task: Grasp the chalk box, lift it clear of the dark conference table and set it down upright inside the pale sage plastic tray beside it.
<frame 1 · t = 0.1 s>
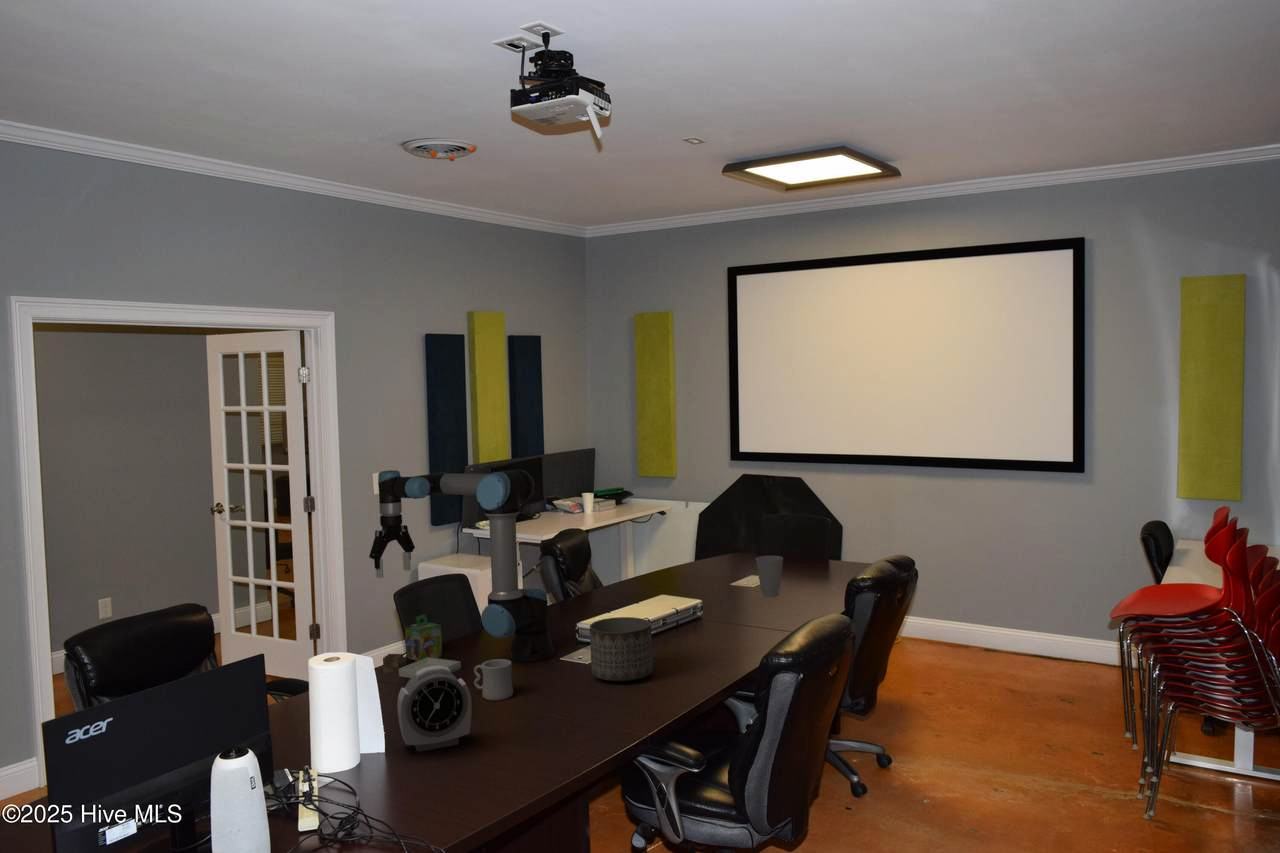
hand: (393, 574, 326), 28 cm above the table, fingers open, 13 cm apart
alarm clock: (436, 745, 238), on the table
cup: (770, 595, 396), on the table
mug: (493, 696, 275), on the table
tray: (430, 672, 301), on the table
planter: (622, 676, 290), on the table
walnut block: (393, 670, 305), on the table
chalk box: (424, 659, 318), on the table
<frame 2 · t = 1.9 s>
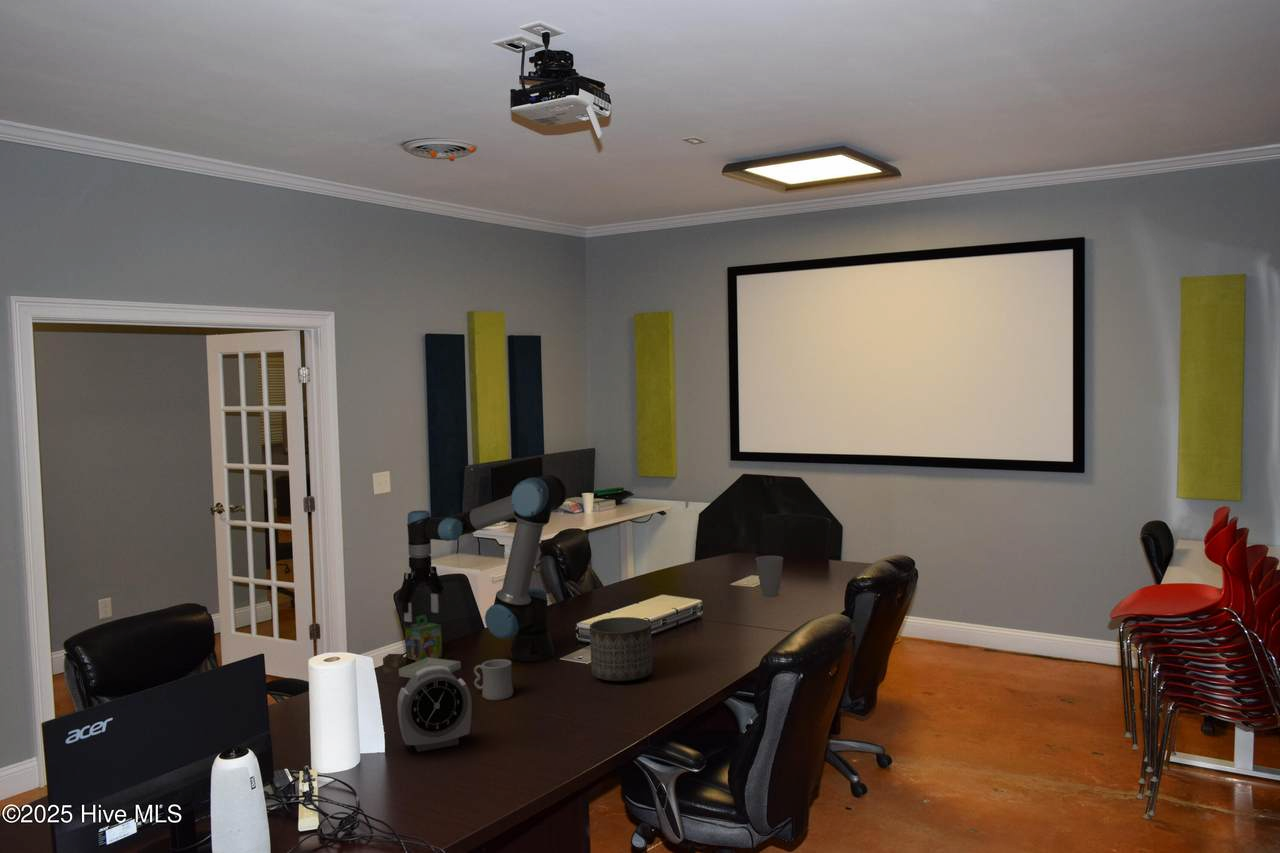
hand: (421, 616, 317), 14 cm above the table, fingers open, 13 cm apart
nothing on the table moved.
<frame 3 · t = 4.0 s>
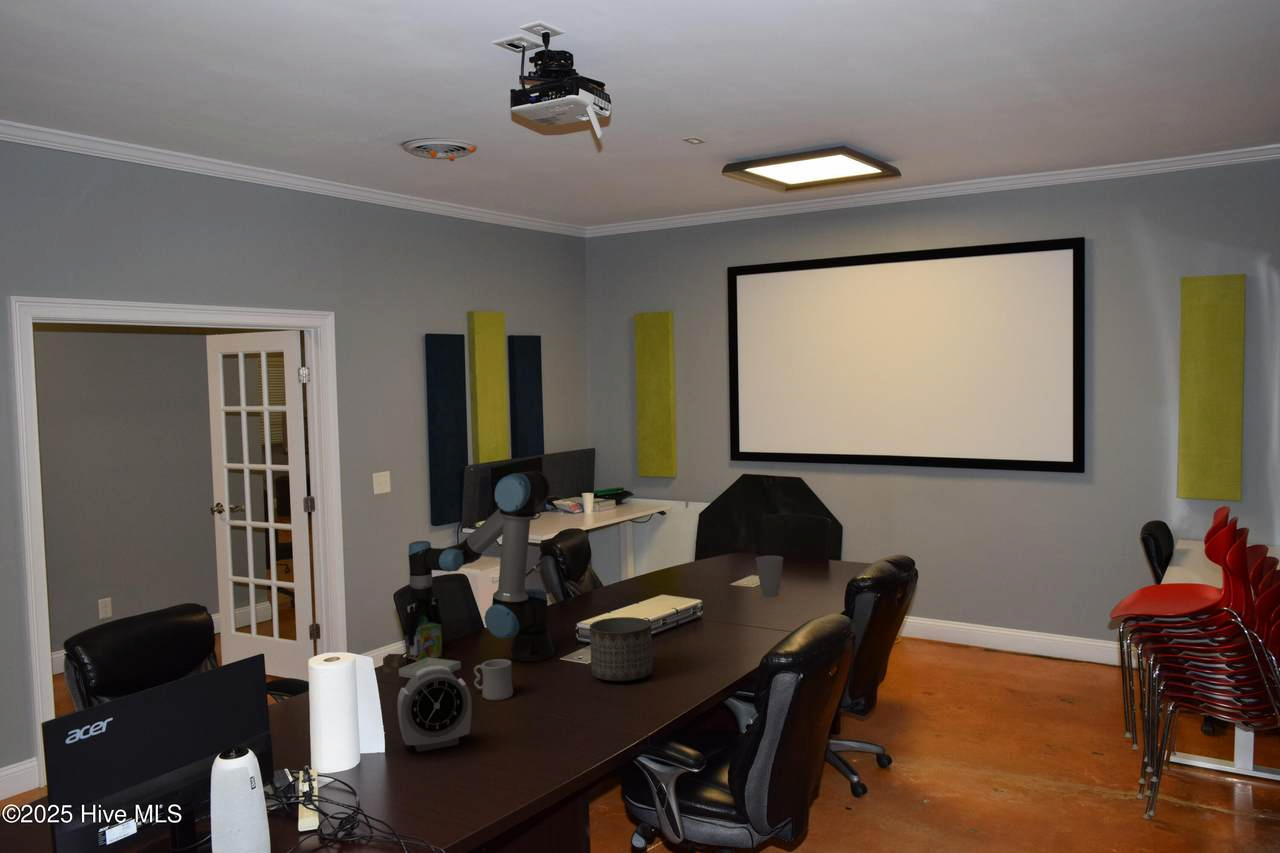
hand: (424, 650, 318), 3 cm above the table, fingers closed on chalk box, 9 cm apart
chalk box: (424, 658, 318), on the table, touching gripper
everything else where it was.
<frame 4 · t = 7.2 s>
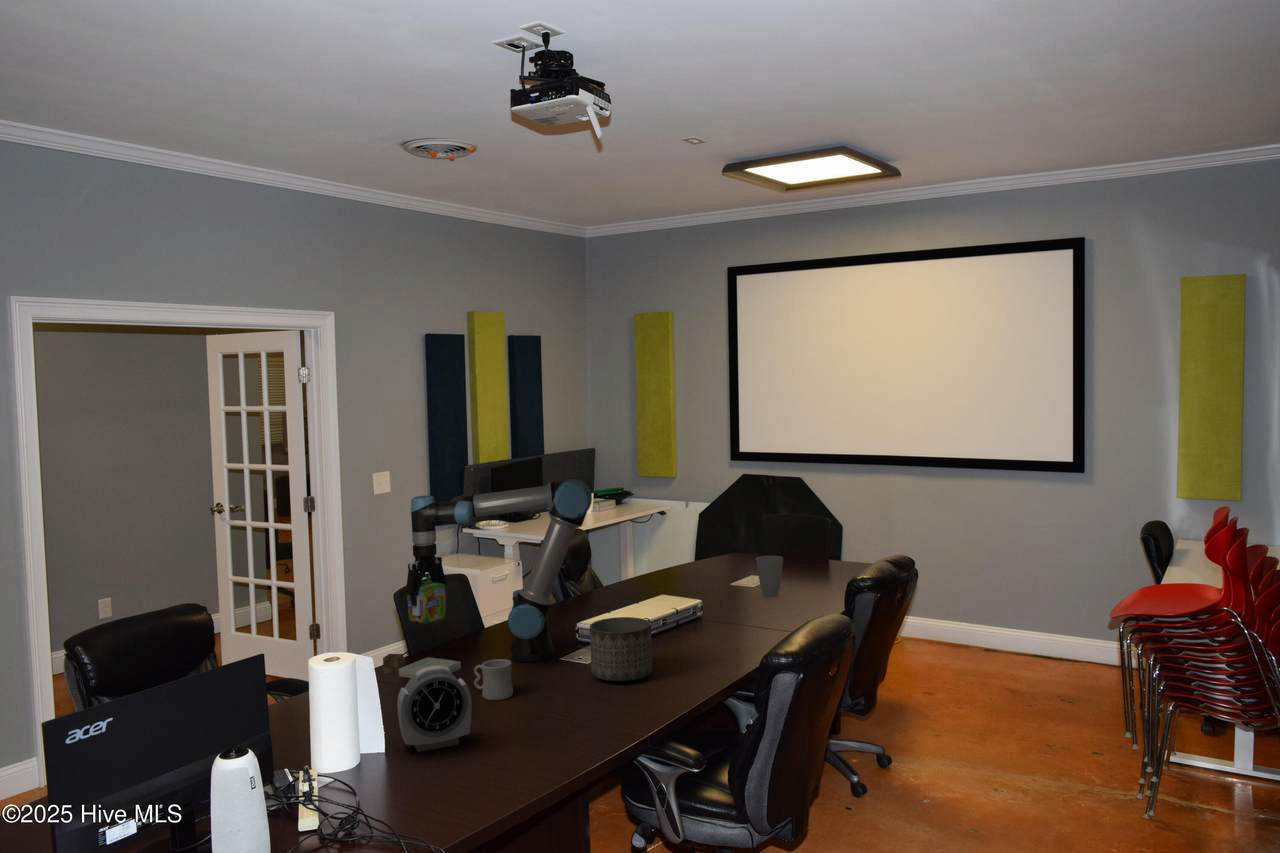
hand: (427, 611, 300), 20 cm above the table, fingers closed on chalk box, 9 cm apart
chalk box: (427, 620, 300), point 17 cm above the table, touching gripper
everything else where it was.
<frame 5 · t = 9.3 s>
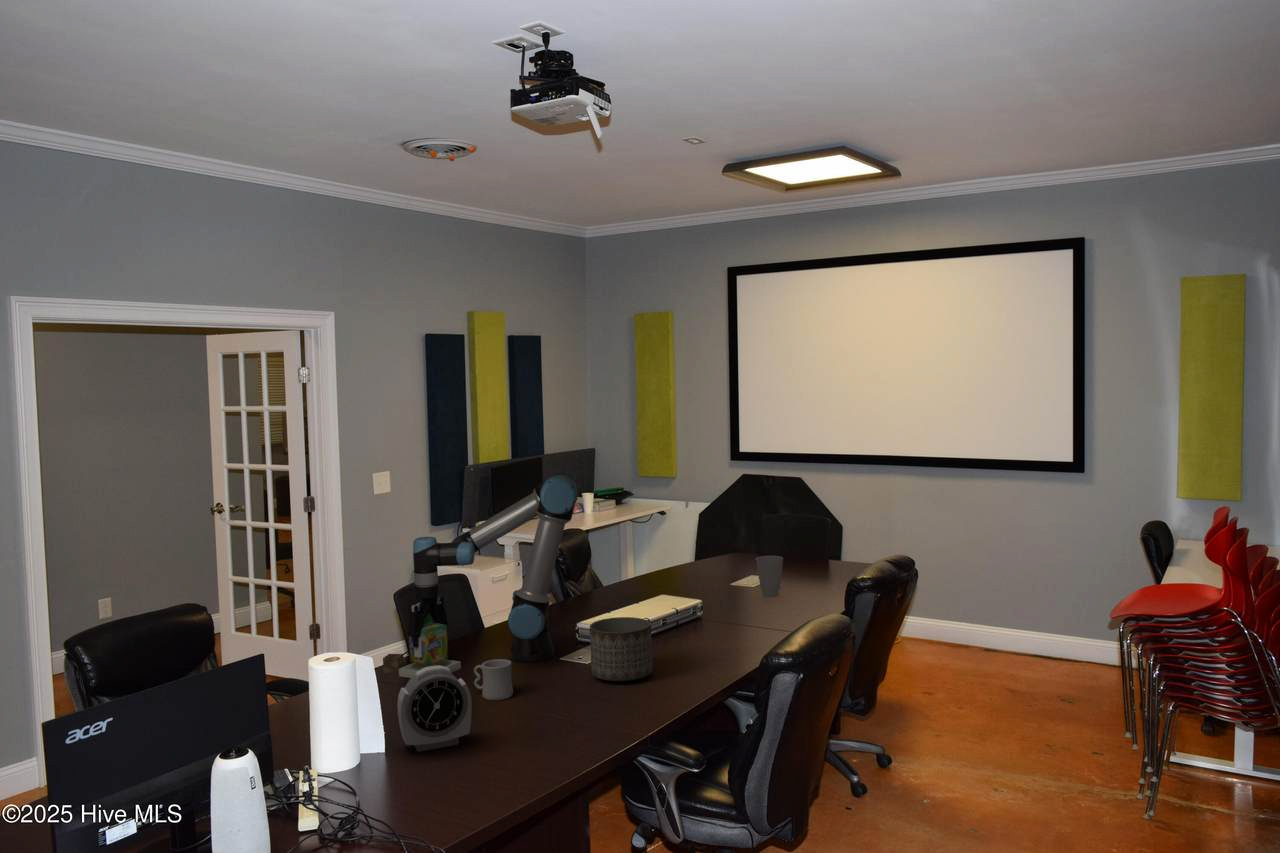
hand: (429, 652, 301), 7 cm above the table, fingers closed on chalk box, 9 cm apart
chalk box: (429, 661, 301), point 4 cm above the table, touching gripper
everything else where it was.
when the fingers open (5 cm above the table, at t = 10.7 s): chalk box drops 1 cm, resting on tray.
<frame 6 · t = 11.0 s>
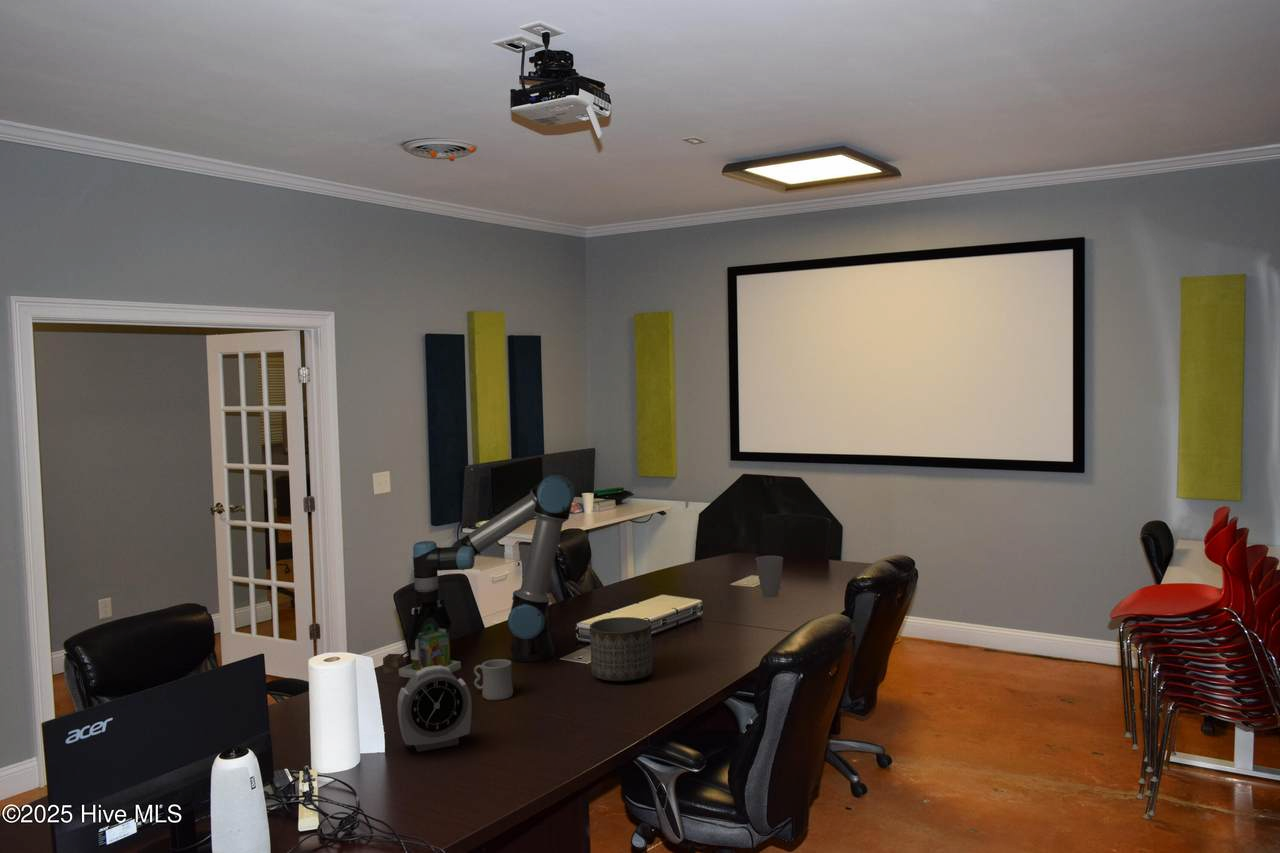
hand: (429, 653, 301), 6 cm above the table, fingers open, 13 cm apart
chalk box: (431, 669, 302), point 1 cm above the table, touching tray
everything else where it was.
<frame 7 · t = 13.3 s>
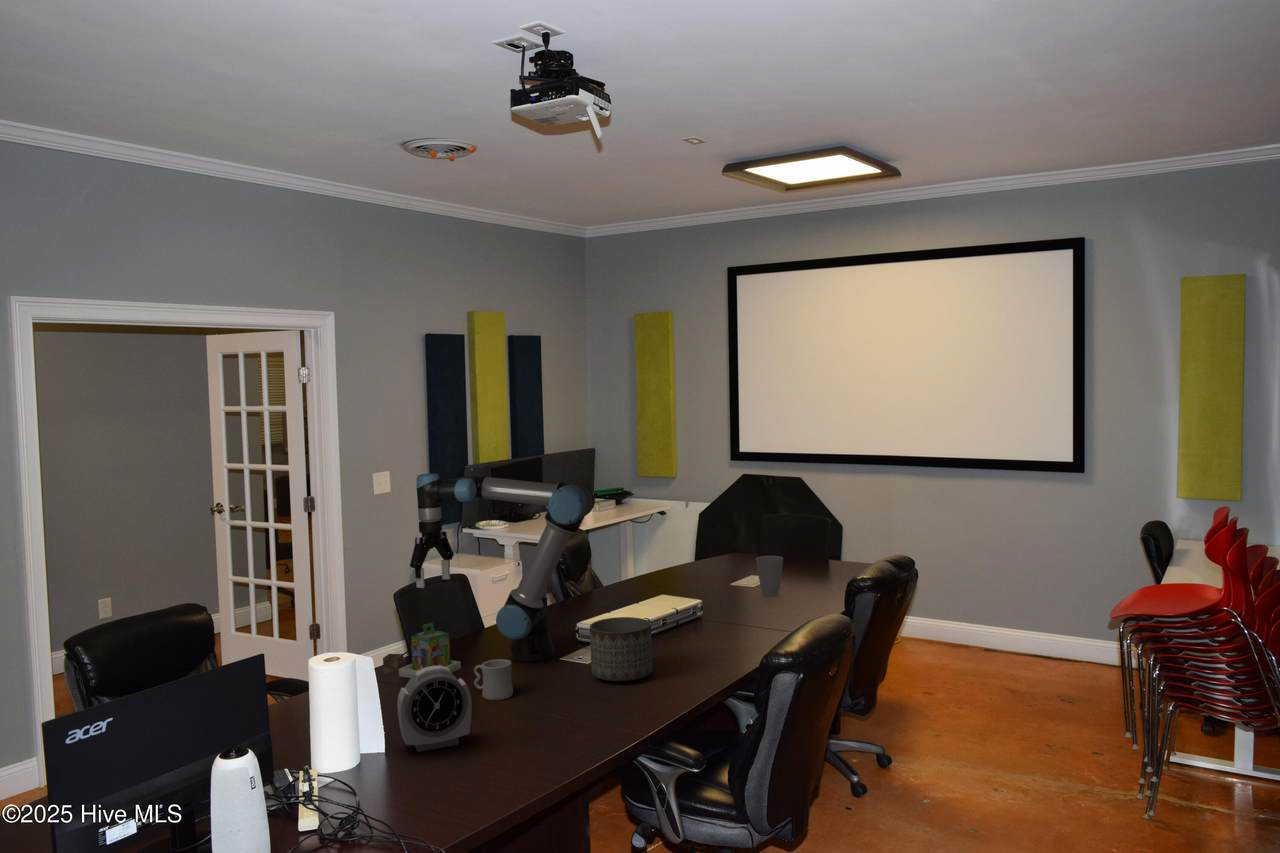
hand: (433, 583, 307), 28 cm above the table, fingers open, 13 cm apart
nothing on the table moved.
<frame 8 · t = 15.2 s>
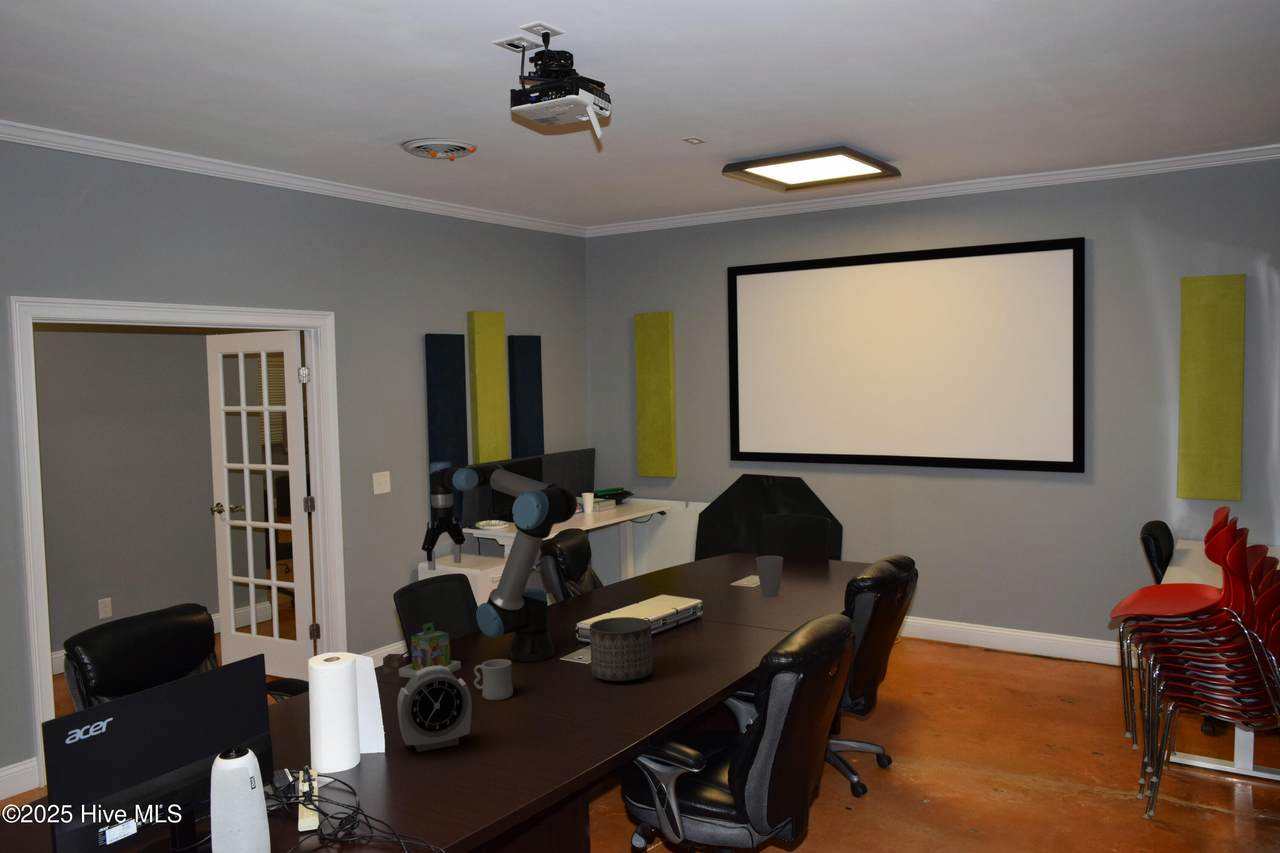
hand: (445, 566, 322), 31 cm above the table, fingers open, 13 cm apart
nothing on the table moved.
at the end: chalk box inside the target area on the tray (0.8 cm from its centre), point 0.8 cm above the tray's base; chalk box tilted 0°; the gripper is holding nothing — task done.
